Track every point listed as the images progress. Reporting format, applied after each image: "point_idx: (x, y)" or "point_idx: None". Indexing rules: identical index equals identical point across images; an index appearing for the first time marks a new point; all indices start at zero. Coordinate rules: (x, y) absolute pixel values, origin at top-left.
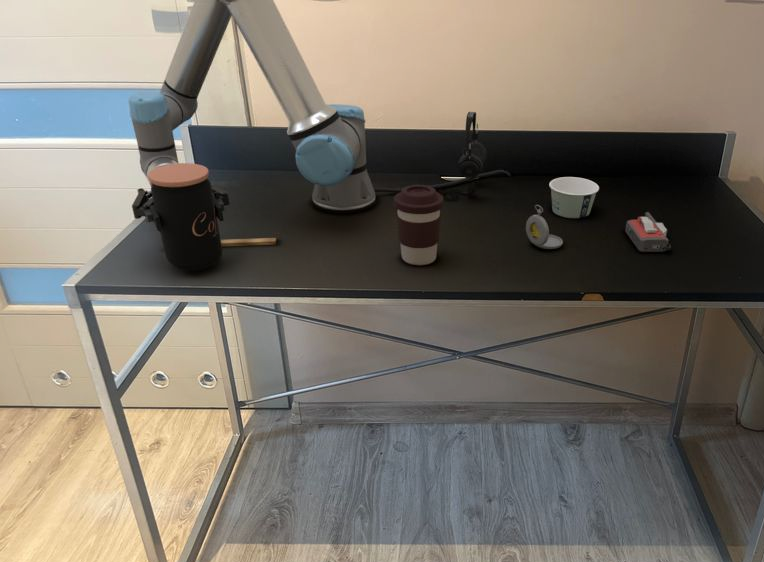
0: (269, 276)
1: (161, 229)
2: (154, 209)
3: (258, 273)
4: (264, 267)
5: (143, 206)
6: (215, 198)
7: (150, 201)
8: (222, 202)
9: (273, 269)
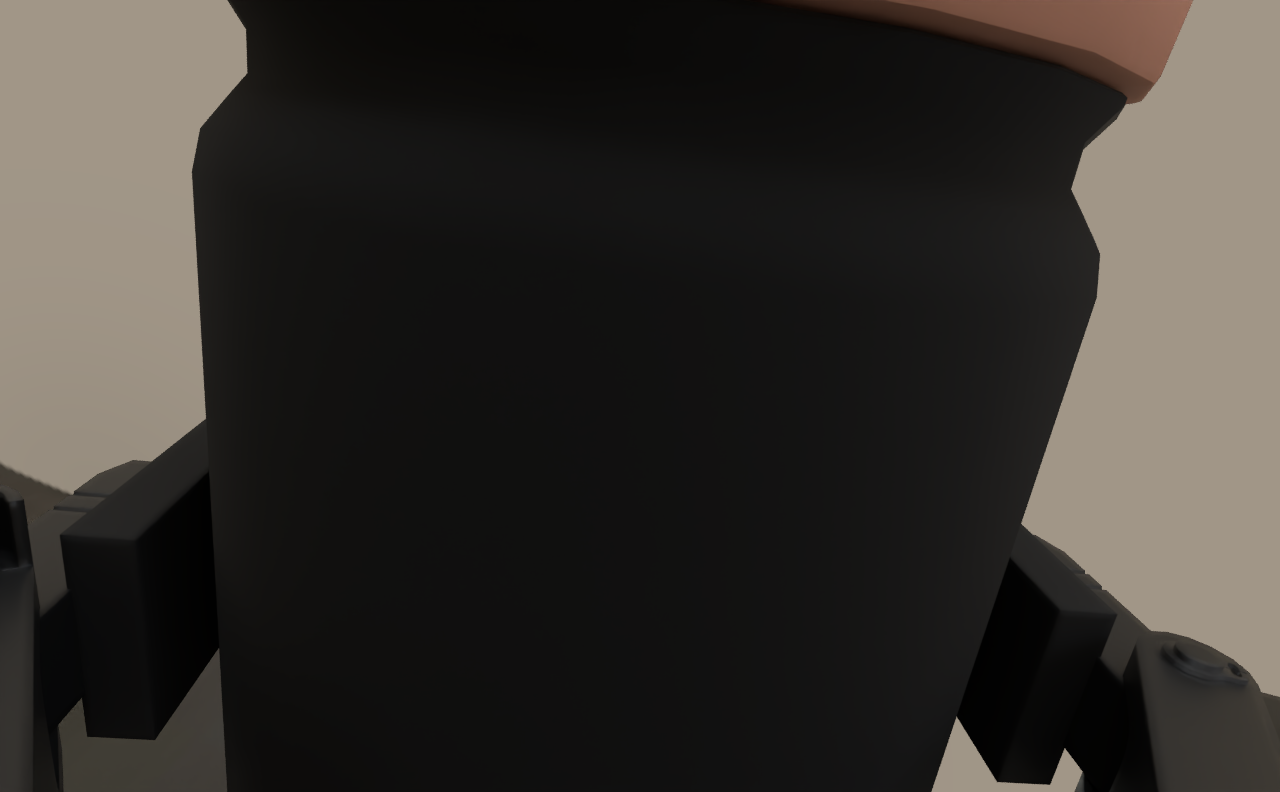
0: None
1: None
2: None
3: (205, 715)
4: (97, 769)
5: (1210, 650)
6: (126, 482)
7: (1223, 778)
8: (90, 486)
9: (80, 720)
